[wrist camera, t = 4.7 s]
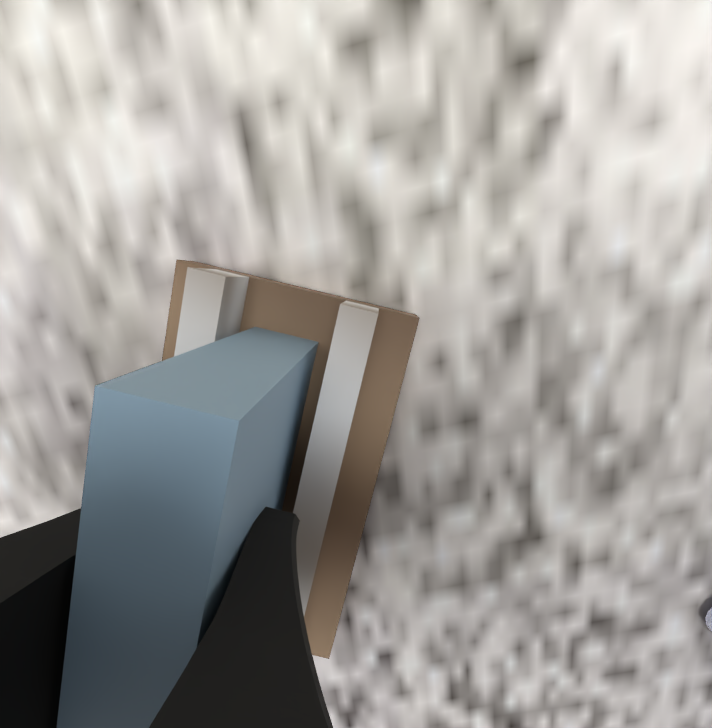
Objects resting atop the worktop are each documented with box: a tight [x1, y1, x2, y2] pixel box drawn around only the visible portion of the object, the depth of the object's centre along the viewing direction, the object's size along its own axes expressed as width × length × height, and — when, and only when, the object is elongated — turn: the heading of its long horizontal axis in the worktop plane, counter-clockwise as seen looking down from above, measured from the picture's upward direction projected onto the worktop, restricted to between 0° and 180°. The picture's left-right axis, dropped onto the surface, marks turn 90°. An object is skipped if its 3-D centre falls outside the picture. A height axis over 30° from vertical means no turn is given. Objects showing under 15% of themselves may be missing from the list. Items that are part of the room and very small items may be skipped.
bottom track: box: [162, 260, 419, 659], centre depth 11 cm, size 10×6×3 cm, turn 167°
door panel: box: [57, 327, 318, 728], centre depth 8 cm, size 8×2×6 cm, turn 167°
